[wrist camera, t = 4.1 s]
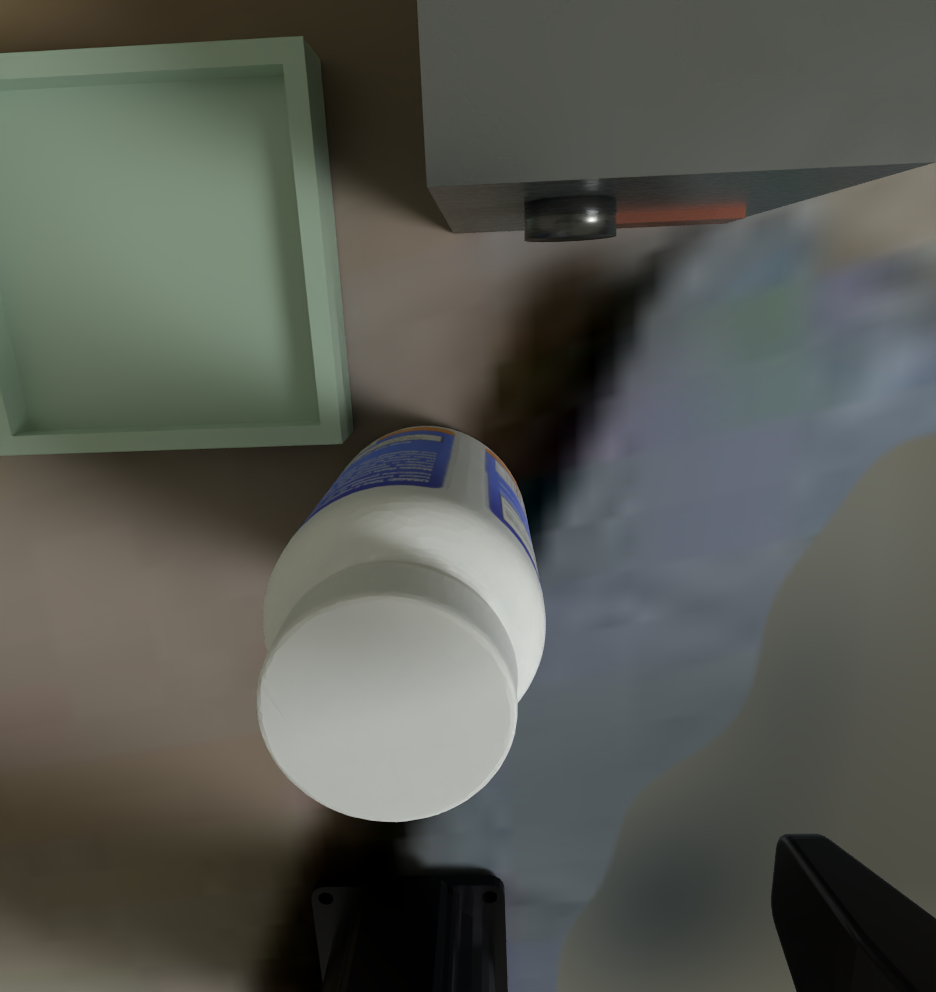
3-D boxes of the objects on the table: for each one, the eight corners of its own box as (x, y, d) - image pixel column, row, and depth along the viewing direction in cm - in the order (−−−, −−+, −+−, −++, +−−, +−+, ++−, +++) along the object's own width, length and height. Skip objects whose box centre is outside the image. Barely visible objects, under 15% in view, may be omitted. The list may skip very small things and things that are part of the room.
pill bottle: (309, 556, 20) (153, 789, 11) (379, 388, 18) (269, 487, 9) (477, 628, 20) (469, 910, 11) (558, 470, 19) (627, 643, 10)
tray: (353, 431, 19) (342, 444, 17) (37, 442, 19) (-3, 455, 18) (320, 60, 16) (302, 35, 15) (-46, 80, 17) (-101, 58, 15)
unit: (731, 246, 17) (929, 209, 9) (454, 258, 17) (429, 232, 10) (756, -132, 15) (1042, -581, 7) (438, -111, 15) (389, -523, 7)
